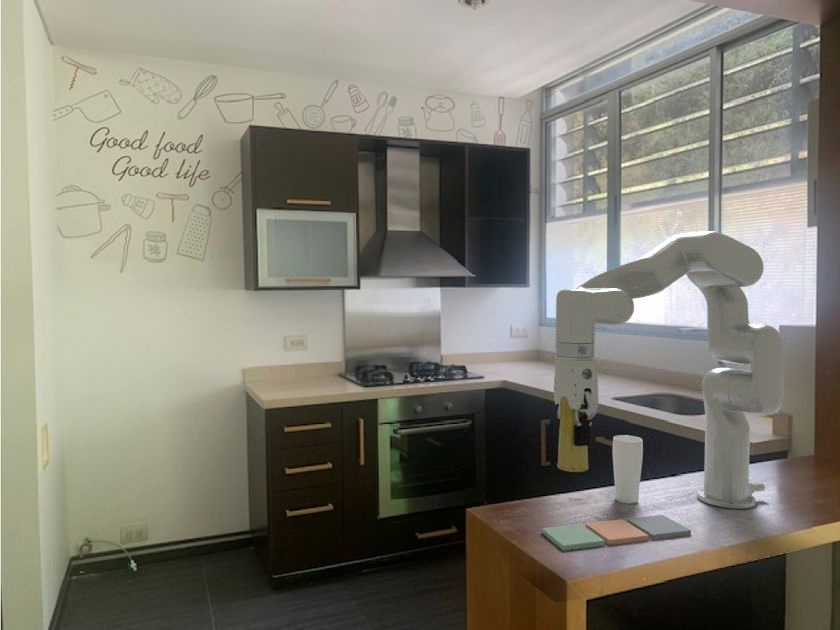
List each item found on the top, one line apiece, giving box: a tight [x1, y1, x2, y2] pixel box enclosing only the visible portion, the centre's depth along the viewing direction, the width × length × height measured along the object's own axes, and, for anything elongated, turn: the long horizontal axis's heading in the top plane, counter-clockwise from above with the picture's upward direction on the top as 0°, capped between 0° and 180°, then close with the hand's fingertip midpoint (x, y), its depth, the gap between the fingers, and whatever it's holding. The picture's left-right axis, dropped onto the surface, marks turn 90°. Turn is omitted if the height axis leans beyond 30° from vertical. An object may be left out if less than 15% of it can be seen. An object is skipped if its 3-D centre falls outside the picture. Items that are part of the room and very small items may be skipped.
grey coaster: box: [626, 514, 692, 540], centre depth 130 cm, size 9×9×1 cm
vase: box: [556, 397, 589, 473], centre depth 123 cm, size 6×6×14 cm
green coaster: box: [541, 523, 606, 551], centre depth 124 cm, size 9×9×1 cm
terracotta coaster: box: [584, 518, 650, 546], centre depth 127 cm, size 9×9×1 cm
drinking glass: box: [612, 434, 644, 505], centre depth 147 cm, size 7×7×15 cm
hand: (573, 440), depth 124 cm, fingers closed on vase, 5 cm apart
